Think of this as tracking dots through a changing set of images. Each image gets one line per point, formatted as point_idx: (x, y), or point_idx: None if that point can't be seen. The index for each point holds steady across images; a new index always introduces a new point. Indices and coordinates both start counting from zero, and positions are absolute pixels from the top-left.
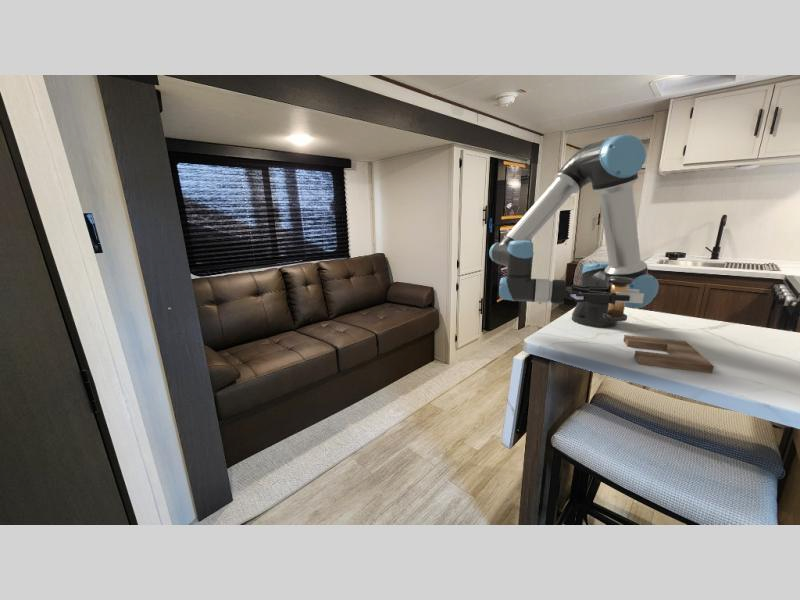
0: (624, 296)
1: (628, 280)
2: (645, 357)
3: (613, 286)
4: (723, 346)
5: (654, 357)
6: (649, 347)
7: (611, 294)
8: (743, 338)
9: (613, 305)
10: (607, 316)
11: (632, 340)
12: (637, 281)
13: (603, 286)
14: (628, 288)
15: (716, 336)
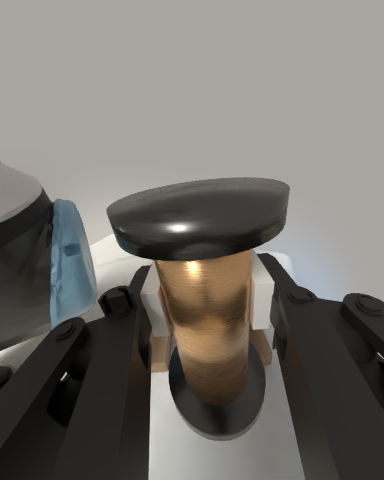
0: (281, 267)
1: (252, 178)
2: (263, 343)
3: (236, 265)
4: (146, 262)
5: (251, 327)
6: (171, 328)
7: (381, 312)
8: (123, 250)
9: (247, 350)
10: (257, 411)
11: (163, 352)
12: (75, 225)
13: (38, 349)
14: (73, 262)
15: (116, 262)
